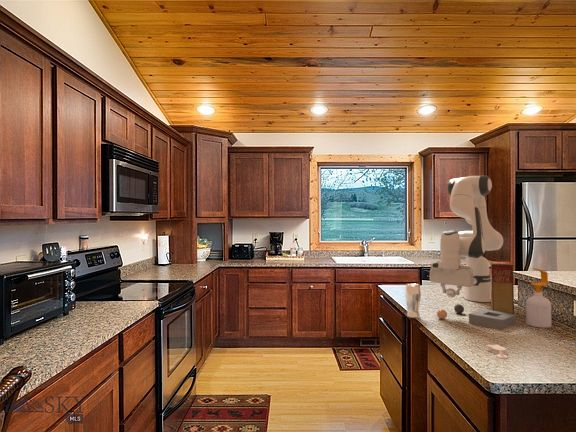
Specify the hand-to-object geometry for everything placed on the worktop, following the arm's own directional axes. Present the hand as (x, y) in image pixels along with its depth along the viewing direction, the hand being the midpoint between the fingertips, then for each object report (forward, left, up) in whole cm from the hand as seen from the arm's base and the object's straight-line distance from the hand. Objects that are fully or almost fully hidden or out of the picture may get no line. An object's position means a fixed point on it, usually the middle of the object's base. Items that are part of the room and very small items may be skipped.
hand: (451, 293), depth 181 cm
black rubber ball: (-7, 0, -10) cm, 13 cm away
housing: (-1, +18, -10) cm, 21 cm away
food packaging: (-19, +15, -11) cm, 27 cm away
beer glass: (+15, -11, -11) cm, 21 cm away
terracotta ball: (+9, 0, -10) cm, 13 cm away
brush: (+35, +35, -11) cm, 50 cm away
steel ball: (0, 0, -2) cm, 2 cm away
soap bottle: (-13, +32, -11) cm, 36 cm away
